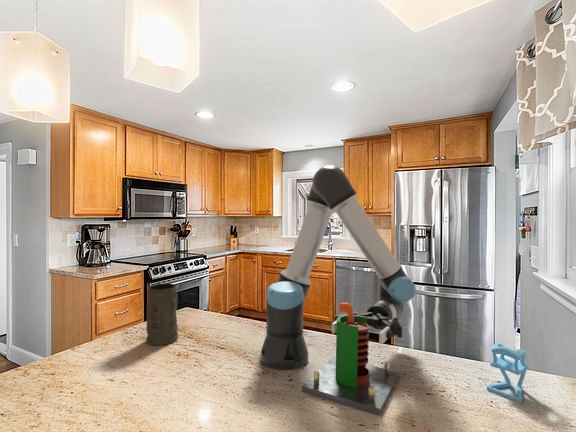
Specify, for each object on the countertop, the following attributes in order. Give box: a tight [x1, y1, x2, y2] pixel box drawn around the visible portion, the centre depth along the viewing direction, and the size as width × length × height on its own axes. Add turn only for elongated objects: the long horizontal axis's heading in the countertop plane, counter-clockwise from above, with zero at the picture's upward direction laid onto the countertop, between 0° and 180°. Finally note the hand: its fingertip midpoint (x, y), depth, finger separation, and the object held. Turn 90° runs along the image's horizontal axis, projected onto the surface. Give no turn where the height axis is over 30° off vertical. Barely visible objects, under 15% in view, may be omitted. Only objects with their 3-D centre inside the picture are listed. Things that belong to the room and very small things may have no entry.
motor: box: [335, 302, 370, 388], centre depth 88 cm, size 10×9×20 cm
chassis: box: [301, 356, 401, 417], centre depth 88 cm, size 20×21×4 cm
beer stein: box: [146, 283, 179, 346], centre depth 120 cm, size 15×11×20 cm
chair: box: [486, 343, 529, 403], centre depth 85 cm, size 8×8×12 cm
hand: (355, 333), depth 88 cm, fingers open, 13 cm apart
